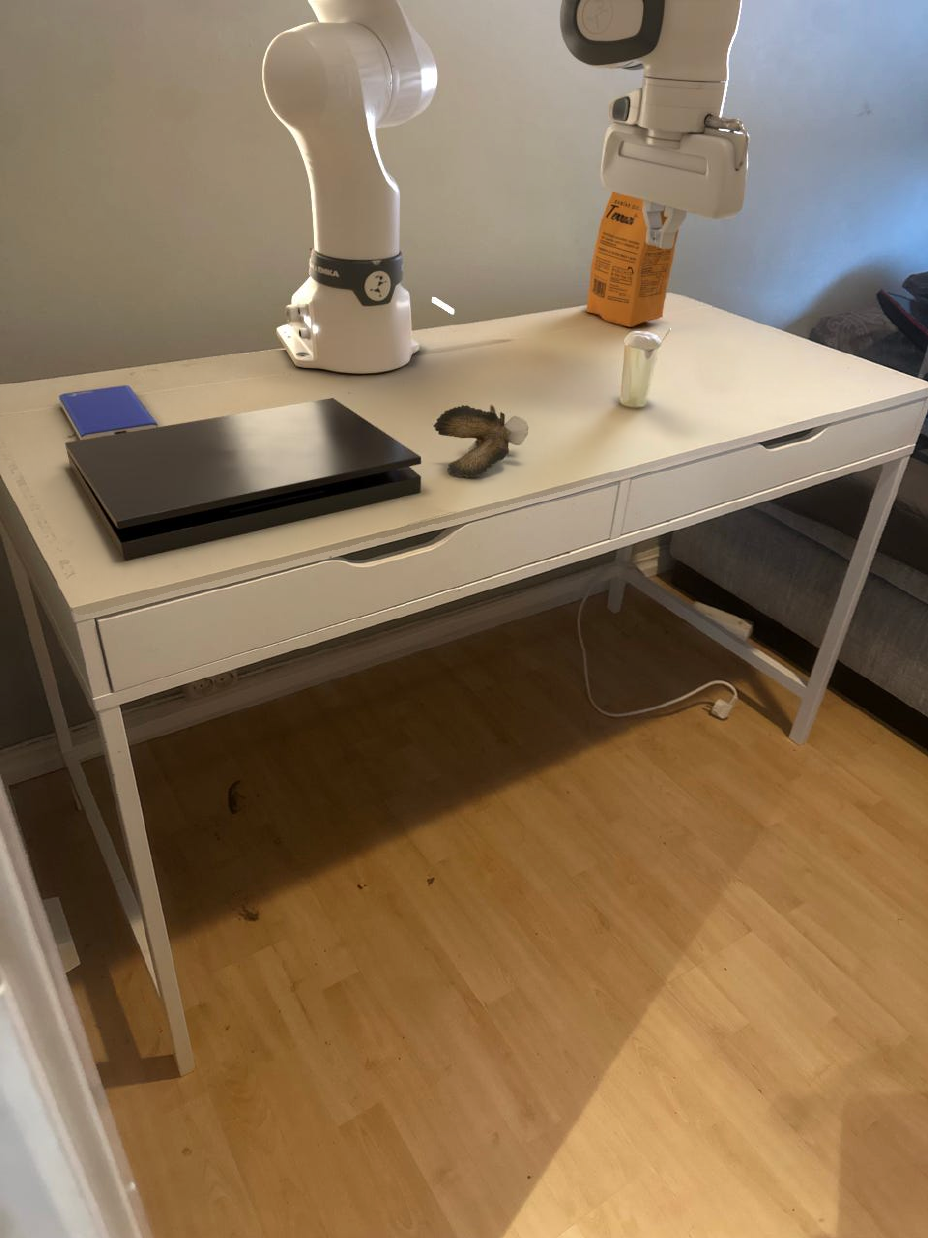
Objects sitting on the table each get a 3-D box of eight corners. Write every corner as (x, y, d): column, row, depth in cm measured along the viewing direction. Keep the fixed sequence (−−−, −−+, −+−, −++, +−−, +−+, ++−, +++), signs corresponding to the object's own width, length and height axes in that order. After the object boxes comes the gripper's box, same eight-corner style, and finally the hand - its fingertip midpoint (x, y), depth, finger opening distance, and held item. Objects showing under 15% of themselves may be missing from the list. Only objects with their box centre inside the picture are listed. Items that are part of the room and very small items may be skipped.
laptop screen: (421, 465, 90) (421, 456, 90) (118, 530, 77) (116, 521, 76) (333, 405, 105) (333, 397, 105) (66, 450, 92) (64, 442, 91)
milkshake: (656, 412, 113) (670, 333, 108) (613, 407, 114) (626, 329, 108) (656, 399, 117) (671, 323, 111) (616, 394, 118) (628, 318, 112)
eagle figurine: (472, 428, 103) (419, 435, 97) (508, 386, 99) (455, 390, 92) (507, 480, 102) (456, 491, 95) (545, 440, 97) (494, 448, 91)
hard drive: (57, 393, 104) (80, 433, 96) (129, 384, 108) (157, 421, 99) (60, 406, 105) (83, 447, 97) (131, 396, 109) (159, 434, 100)
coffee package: (620, 303, 154) (641, 161, 142) (670, 323, 146) (697, 175, 133) (575, 309, 150) (593, 164, 137) (624, 330, 141) (648, 178, 129)
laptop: (420, 492, 92) (421, 475, 91) (124, 561, 78) (120, 542, 77) (333, 419, 106) (333, 404, 105) (70, 466, 93) (66, 450, 91)
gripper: (774, 120, 90) (743, 264, 98) (641, 100, 104) (624, 226, 112) (729, 121, 87) (701, 269, 95) (598, 100, 101) (584, 230, 109)
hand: (658, 246), depth 104 cm, fingers closed
